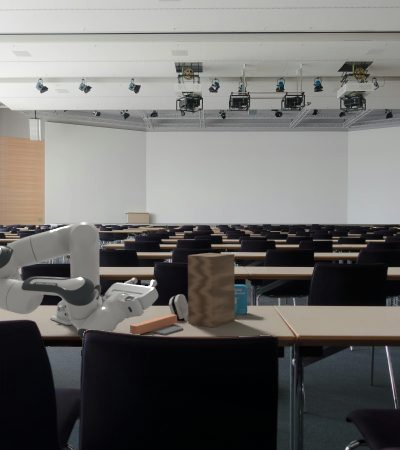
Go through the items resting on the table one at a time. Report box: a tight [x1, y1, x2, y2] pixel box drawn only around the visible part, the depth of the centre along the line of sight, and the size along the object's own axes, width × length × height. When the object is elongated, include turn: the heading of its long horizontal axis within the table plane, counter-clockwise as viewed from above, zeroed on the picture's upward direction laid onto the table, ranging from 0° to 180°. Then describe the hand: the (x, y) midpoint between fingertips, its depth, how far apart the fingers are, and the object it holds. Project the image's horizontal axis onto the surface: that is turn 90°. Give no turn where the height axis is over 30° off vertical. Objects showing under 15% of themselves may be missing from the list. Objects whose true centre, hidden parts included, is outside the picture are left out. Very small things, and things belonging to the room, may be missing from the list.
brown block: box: [187, 252, 236, 328], centre depth 180 cm, size 12×14×26 cm
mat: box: [148, 325, 184, 336], centre depth 168 cm, size 14×10×1 cm
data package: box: [234, 283, 248, 316], centre depth 195 cm, size 12×4×12 cm, turn 84°
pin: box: [129, 313, 178, 335], centre depth 168 cm, size 3×22×3 cm, turn 144°
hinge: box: [168, 293, 188, 322], centre depth 190 cm, size 17×5×10 cm, turn 171°
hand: (145, 280), depth 163 cm, fingers open, 8 cm apart
